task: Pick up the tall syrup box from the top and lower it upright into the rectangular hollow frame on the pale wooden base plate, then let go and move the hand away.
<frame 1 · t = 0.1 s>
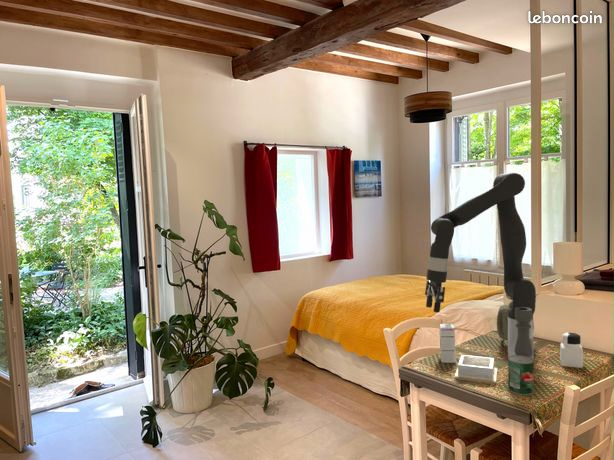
hand: (432, 309, 182), 22 cm above the table, tool pointing down, fingers open, 8 cm apart
candle holder: (523, 376, 169), on the table
canned tomato: (520, 391, 157), on the table
tabletop clock: (515, 347, 201), on the table
medicine bottle: (571, 364, 179), on the table
rectangular hollow frame: (476, 374, 172), on the table
syrup box: (447, 360, 188), on the table
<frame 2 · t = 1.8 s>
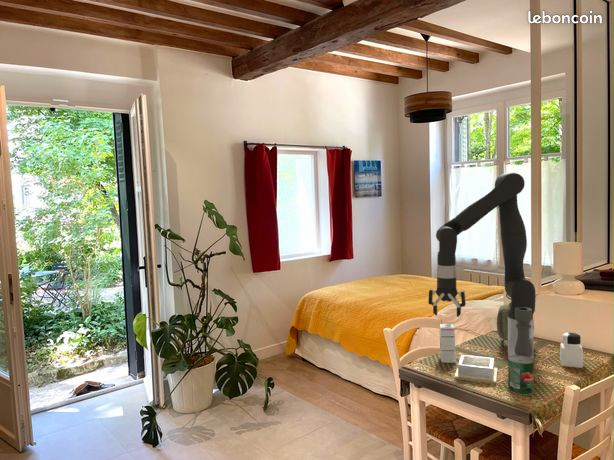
hand: (446, 315, 187), 19 cm above the table, tool pointing down, fingers open, 8 cm apart
nothing on the table moved.
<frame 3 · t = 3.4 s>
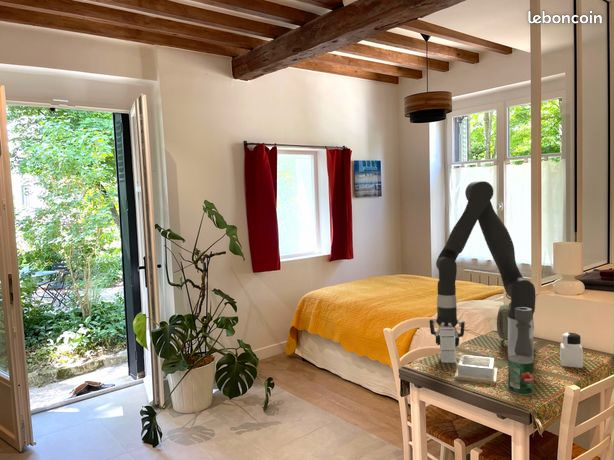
hand: (447, 345, 188), 6 cm above the table, tool pointing down, fingers closed on syrup box, 6 cm apart
syrup box: (447, 360, 188), on the table, touching gripper
everything else where it was.
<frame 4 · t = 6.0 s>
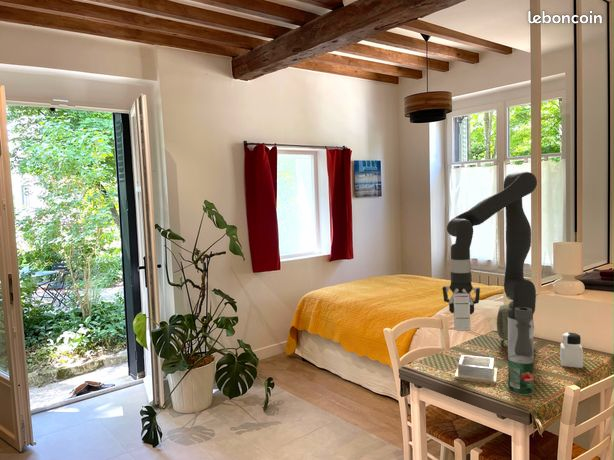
hand: (461, 313, 178), 21 cm above the table, tool pointing down, fingers closed on syrup box, 6 cm apart
syrup box: (462, 329, 179), point 15 cm above the table, touching gripper
everything else where it was.
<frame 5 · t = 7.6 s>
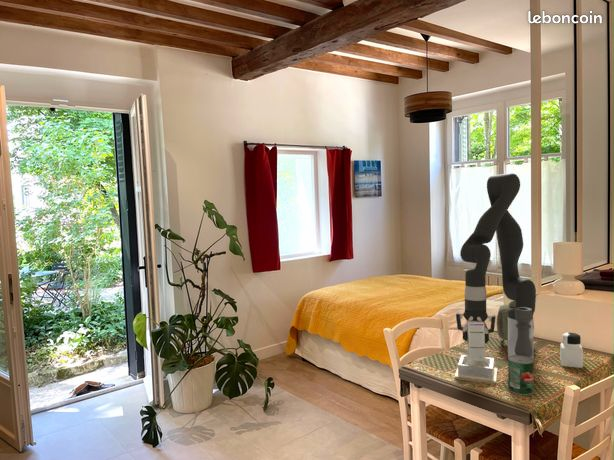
hand: (475, 341, 171), 12 cm above the table, tool pointing down, fingers closed on syrup box, 6 cm apart
syrup box: (475, 358, 172), point 6 cm above the table, touching gripper
everything else where it was.
when the fingers open (9 cm above the table, at t = 8.9 s): syrup box drops 1 cm, resting on rectangular hollow frame.
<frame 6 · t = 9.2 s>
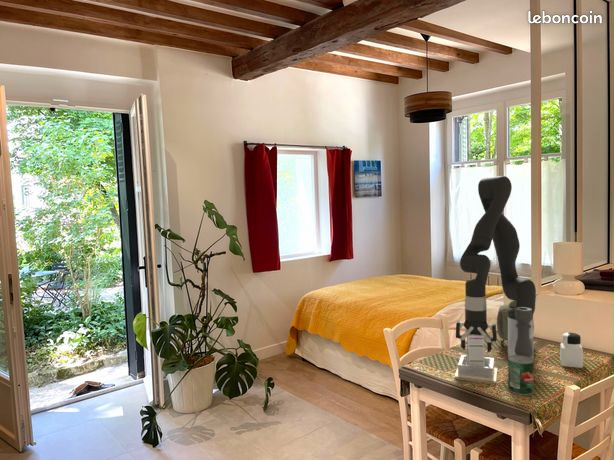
hand: (476, 350, 172), 9 cm above the table, tool pointing down, fingers open, 8 cm apart
syrup box: (475, 372, 172), point 1 cm above the table, touching rectangular hollow frame
everything else where it was.
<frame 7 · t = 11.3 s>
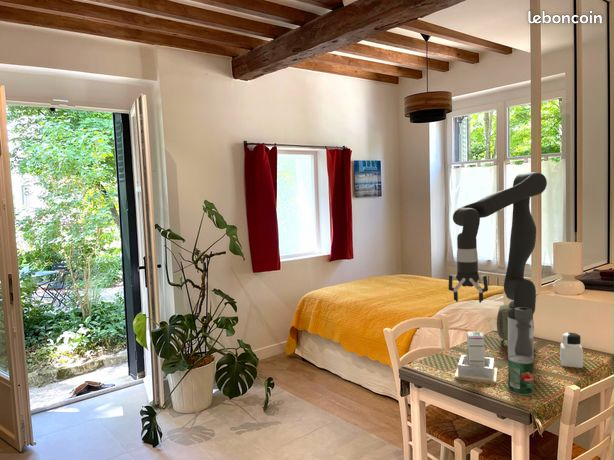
hand: (468, 301, 178), 26 cm above the table, tool pointing down, fingers open, 8 cm apart
nothing on the table moved.
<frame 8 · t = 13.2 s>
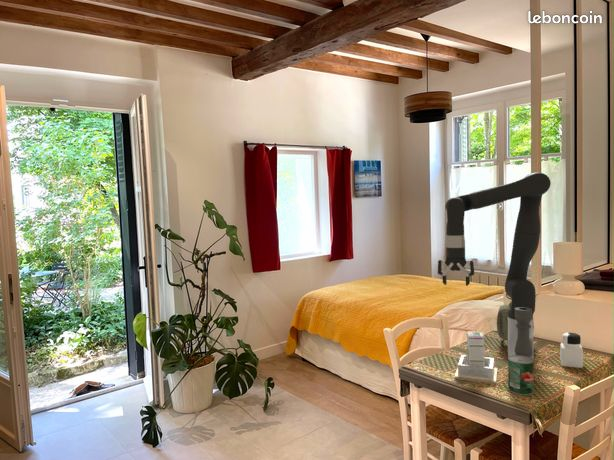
hand: (456, 285, 190), 30 cm above the table, tool pointing down, fingers open, 8 cm apart
nothing on the table moved.
at the end: syrup box 0.2 cm off-centre on the rectangular hollow frame, point 0.8 cm above the rectangular hollow frame's base; syrup box tilted 0°; the gripper is holding nothing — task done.
